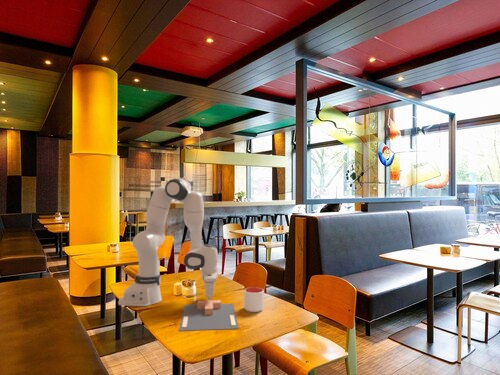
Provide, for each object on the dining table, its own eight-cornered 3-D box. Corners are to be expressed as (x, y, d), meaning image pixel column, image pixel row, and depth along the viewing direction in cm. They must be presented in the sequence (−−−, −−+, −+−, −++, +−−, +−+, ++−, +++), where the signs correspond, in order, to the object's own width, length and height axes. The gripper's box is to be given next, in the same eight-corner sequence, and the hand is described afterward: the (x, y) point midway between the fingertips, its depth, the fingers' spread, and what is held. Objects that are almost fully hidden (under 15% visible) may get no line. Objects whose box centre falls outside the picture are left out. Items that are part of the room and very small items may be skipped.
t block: (196, 315, 156) (196, 309, 156) (197, 306, 168) (197, 300, 168) (221, 314, 158) (221, 308, 158) (220, 305, 169) (220, 300, 170)
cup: (261, 313, 160) (262, 293, 160) (242, 312, 162) (242, 292, 162) (264, 306, 170) (265, 288, 170) (246, 305, 172) (246, 286, 172)
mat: (178, 331, 138) (178, 329, 138) (184, 305, 170) (184, 304, 170) (238, 328, 142) (238, 327, 142) (233, 303, 173) (233, 302, 173)
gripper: (203, 270, 184) (203, 294, 184) (203, 279, 164) (203, 307, 163) (214, 270, 185) (214, 294, 184) (215, 279, 164) (215, 306, 164)
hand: (209, 300), depth 174 cm, fingers closed
